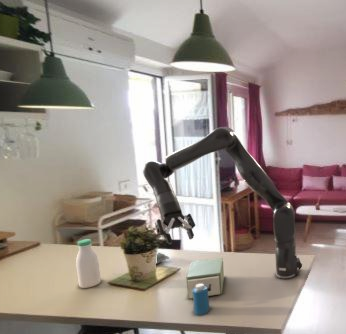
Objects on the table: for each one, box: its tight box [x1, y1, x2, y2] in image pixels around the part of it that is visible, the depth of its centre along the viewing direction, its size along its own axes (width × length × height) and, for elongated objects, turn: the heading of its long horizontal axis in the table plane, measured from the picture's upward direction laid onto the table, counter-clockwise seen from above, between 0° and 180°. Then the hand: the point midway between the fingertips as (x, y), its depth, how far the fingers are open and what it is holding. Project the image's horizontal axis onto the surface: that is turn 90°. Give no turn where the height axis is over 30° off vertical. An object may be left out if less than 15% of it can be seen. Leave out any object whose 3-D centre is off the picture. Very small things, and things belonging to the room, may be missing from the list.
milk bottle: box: [75, 238, 102, 289], centre depth 145 cm, size 8×8×20 cm
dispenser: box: [185, 257, 225, 300], centre depth 142 cm, size 15×13×9 cm
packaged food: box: [156, 251, 170, 265], centre depth 167 cm, size 9×12×5 cm
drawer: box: [186, 275, 221, 300], centre depth 138 cm, size 18×12×7 cm, turn 16°
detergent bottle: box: [192, 283, 210, 316], centre depth 125 cm, size 5×5×10 cm
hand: (181, 241), depth 132 cm, fingers open, 8 cm apart
